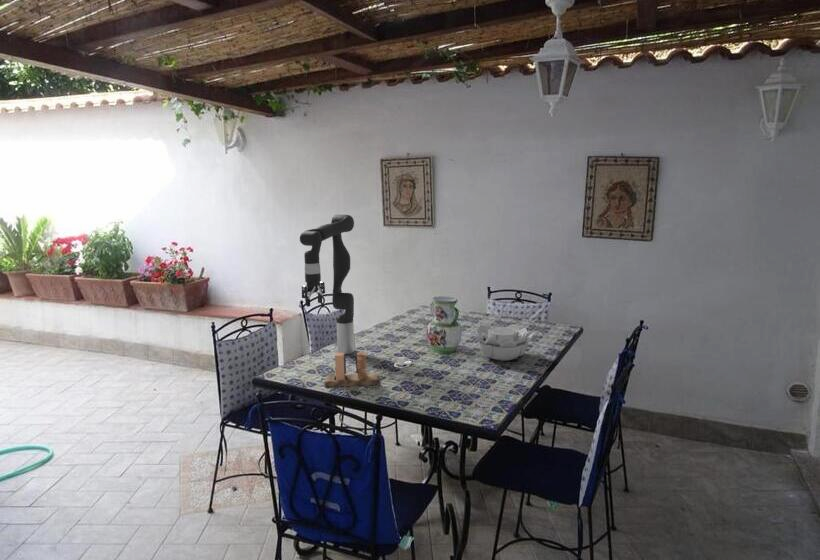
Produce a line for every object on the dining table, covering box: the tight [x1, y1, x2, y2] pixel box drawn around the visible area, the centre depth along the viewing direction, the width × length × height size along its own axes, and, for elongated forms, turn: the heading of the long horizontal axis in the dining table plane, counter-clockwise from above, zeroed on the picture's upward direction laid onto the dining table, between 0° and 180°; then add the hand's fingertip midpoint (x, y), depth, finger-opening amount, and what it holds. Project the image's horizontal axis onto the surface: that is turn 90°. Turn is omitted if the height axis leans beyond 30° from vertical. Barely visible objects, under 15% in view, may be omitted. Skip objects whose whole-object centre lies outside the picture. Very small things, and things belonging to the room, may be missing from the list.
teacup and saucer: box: [393, 356, 413, 369], centre depth 265 cm, size 9×8×4 cm
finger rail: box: [324, 351, 379, 388], centre depth 242 cm, size 24×8×14 cm, turn 93°
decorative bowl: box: [474, 323, 535, 362], centre depth 273 cm, size 30×30×15 cm
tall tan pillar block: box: [334, 352, 347, 380], centre depth 241 cm, size 5×4×14 cm
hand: (314, 304), depth 256 cm, fingers open, 8 cm apart
